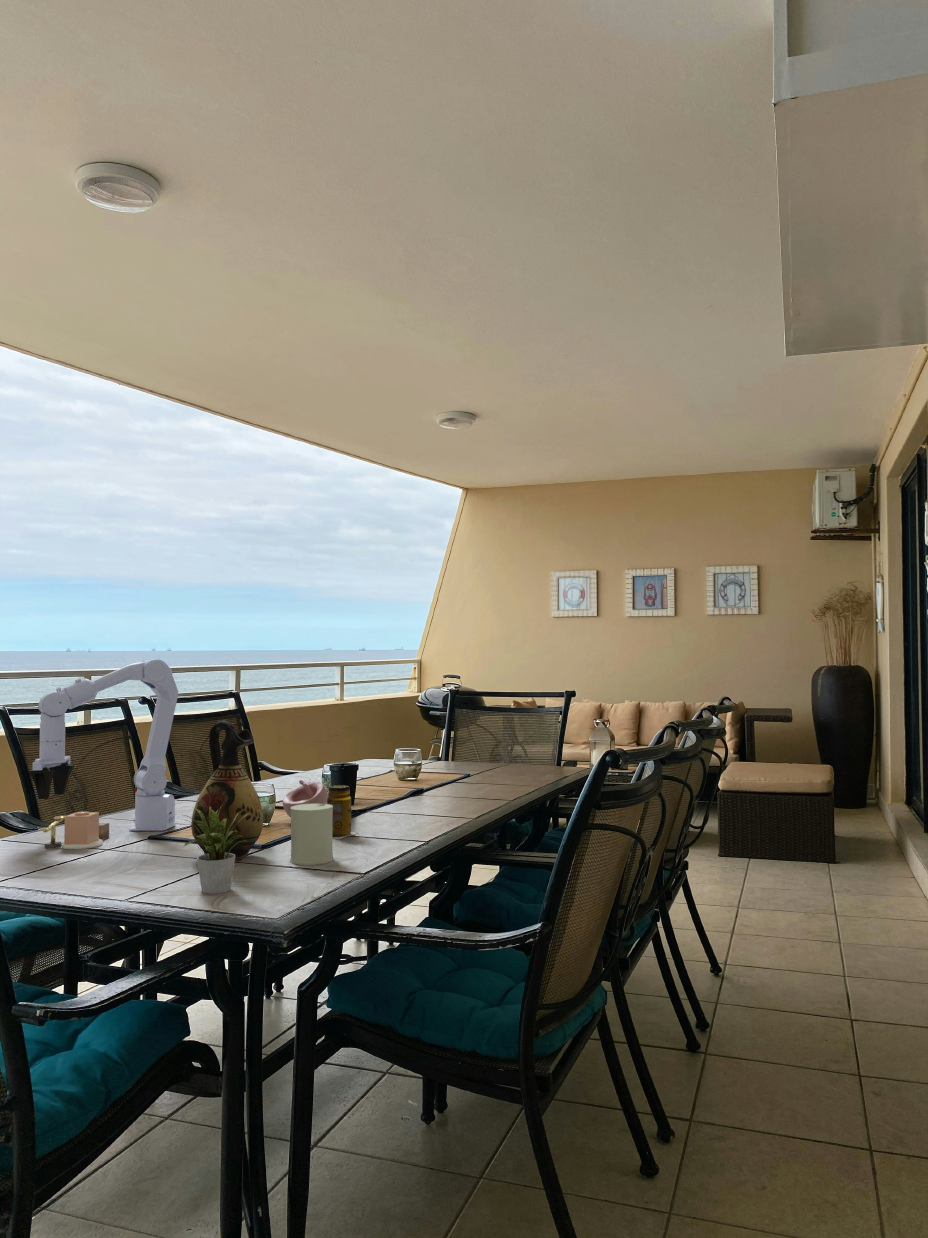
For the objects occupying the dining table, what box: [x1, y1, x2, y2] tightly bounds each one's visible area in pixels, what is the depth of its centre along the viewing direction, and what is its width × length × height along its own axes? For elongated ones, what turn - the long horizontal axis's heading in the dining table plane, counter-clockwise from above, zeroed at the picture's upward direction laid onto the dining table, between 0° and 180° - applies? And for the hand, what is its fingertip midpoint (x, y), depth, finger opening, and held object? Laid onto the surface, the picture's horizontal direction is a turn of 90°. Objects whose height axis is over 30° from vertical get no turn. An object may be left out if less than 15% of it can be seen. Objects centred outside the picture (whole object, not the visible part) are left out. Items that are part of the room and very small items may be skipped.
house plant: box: [177, 804, 251, 895], centre depth 166 cm, size 14×14×16 cm
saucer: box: [60, 839, 104, 850], centre depth 208 cm, size 9×9×1 cm
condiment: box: [327, 784, 358, 840], centre depth 218 cm, size 7×8×12 cm
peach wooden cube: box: [63, 811, 100, 845], centre depth 208 cm, size 6×6×7 cm
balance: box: [38, 815, 66, 849], centre depth 206 cm, size 10×3×6 cm, turn 177°
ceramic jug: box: [190, 719, 264, 862], centre depth 194 cm, size 17×15×30 cm
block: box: [99, 822, 110, 841], centre depth 216 cm, size 4×4×4 cm
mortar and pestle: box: [282, 779, 328, 819], centre depth 236 cm, size 12×12×11 cm
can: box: [289, 803, 334, 866], centre depth 190 cm, size 9×9×12 cm
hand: (51, 796), depth 216 cm, fingers open, 7 cm apart
